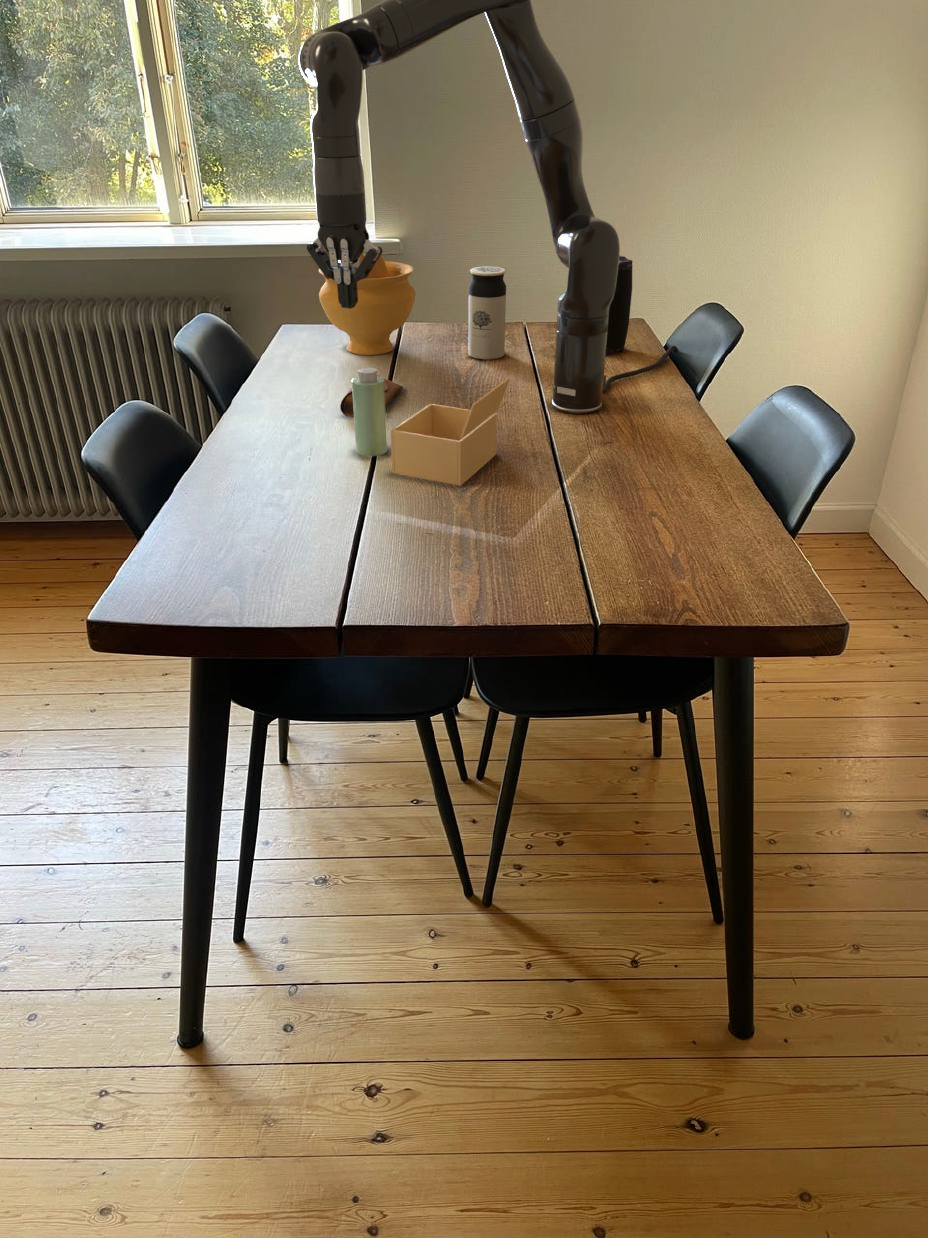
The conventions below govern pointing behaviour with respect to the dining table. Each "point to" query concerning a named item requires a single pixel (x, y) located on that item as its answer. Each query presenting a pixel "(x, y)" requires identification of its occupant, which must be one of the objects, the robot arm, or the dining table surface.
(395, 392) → the leather pouch
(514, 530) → the dining table surface
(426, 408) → the carton
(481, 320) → the travel mug
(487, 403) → the flap
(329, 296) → the mortar and pestle
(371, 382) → the water bottle
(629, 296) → the portable speaker
